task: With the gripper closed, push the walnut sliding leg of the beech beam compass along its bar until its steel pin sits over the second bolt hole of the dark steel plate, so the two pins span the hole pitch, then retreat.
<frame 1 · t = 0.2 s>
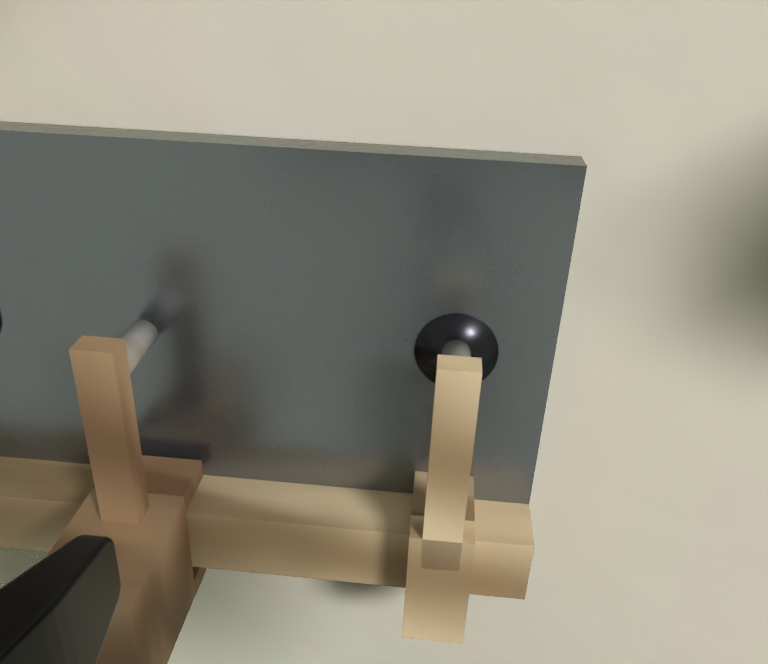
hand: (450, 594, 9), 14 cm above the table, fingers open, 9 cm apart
slider leg: (118, 500, 22), point 5 cm above the table, slide at 0.0 cm
steel plate: (217, 369, 25), on the table
compass bar: (226, 484, 27), resting on steel plate
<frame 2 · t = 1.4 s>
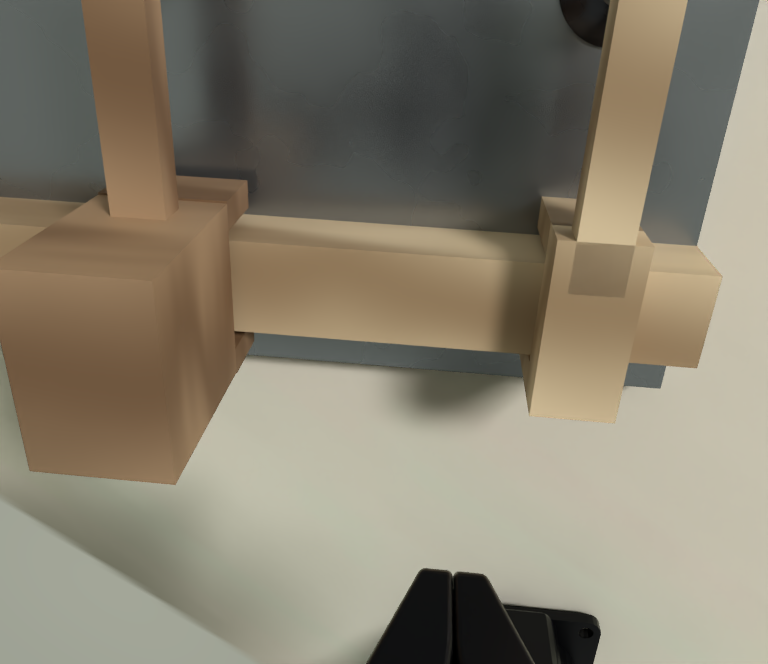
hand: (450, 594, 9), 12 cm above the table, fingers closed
slider leg: (136, 180, 15), point 5 cm above the table, slide at 0.0 cm
steel plate: (269, 56, 18), on the table
compass bar: (275, 245, 20), resting on steel plate
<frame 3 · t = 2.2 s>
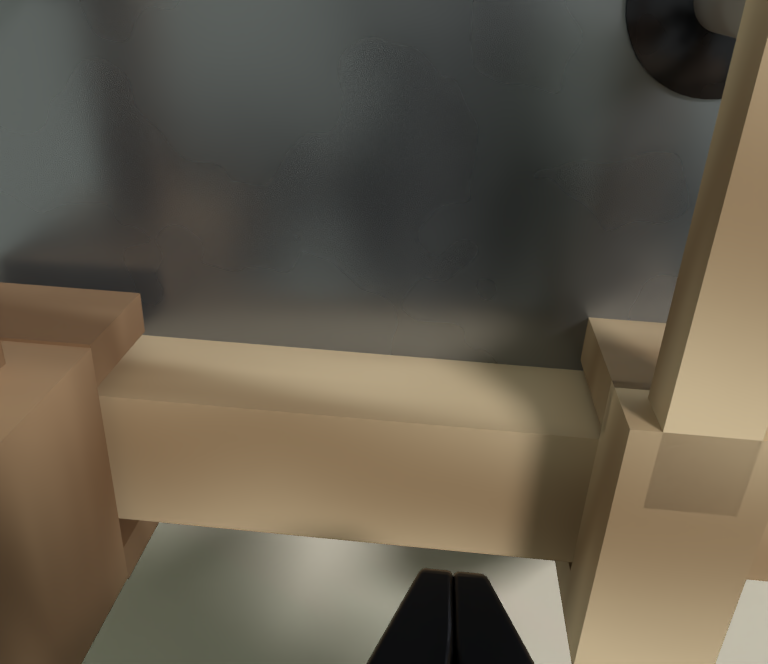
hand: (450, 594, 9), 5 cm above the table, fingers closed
steel plate: (175, 104, 12), on the table
compass bar: (198, 368, 14), resting on steel plate
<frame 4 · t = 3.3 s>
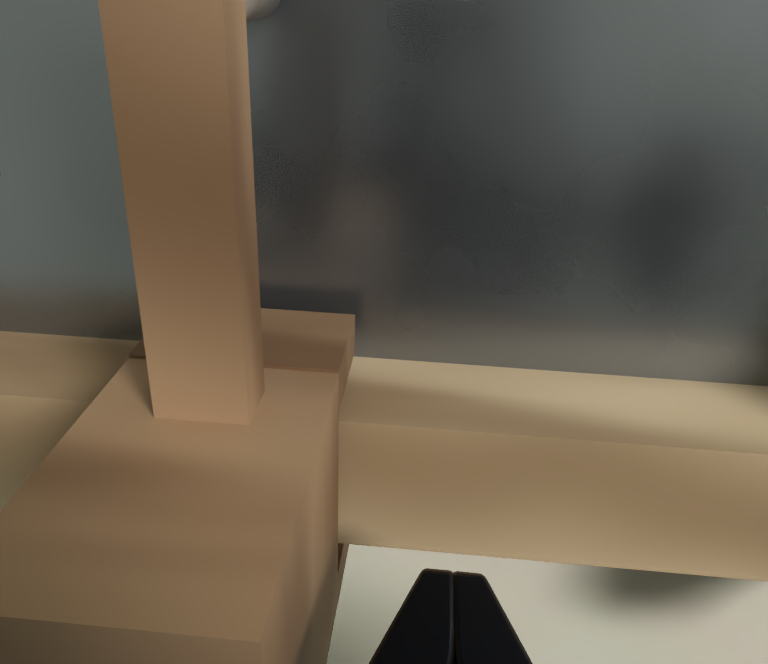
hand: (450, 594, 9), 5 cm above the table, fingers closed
slider leg: (199, 361, 9), point 5 cm above the table, slide at 0.9 cm, touching gripper
steel plate: (444, 125, 12), on the table
compass bar: (426, 390, 14), resting on steel plate
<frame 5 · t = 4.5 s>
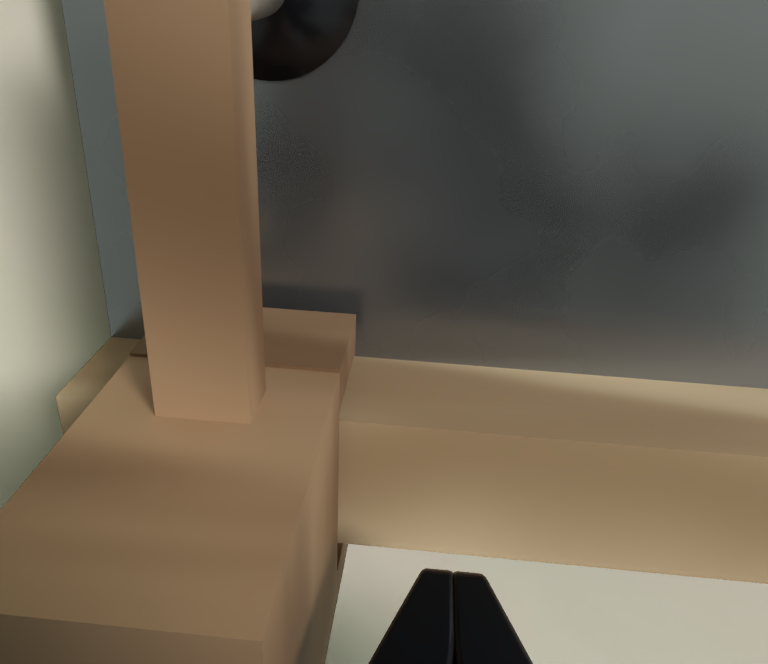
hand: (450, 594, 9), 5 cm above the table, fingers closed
slider leg: (201, 360, 9), point 5 cm above the table, slide at 6.3 cm, touching gripper
compass bar: (711, 414, 14), resting on steel plate
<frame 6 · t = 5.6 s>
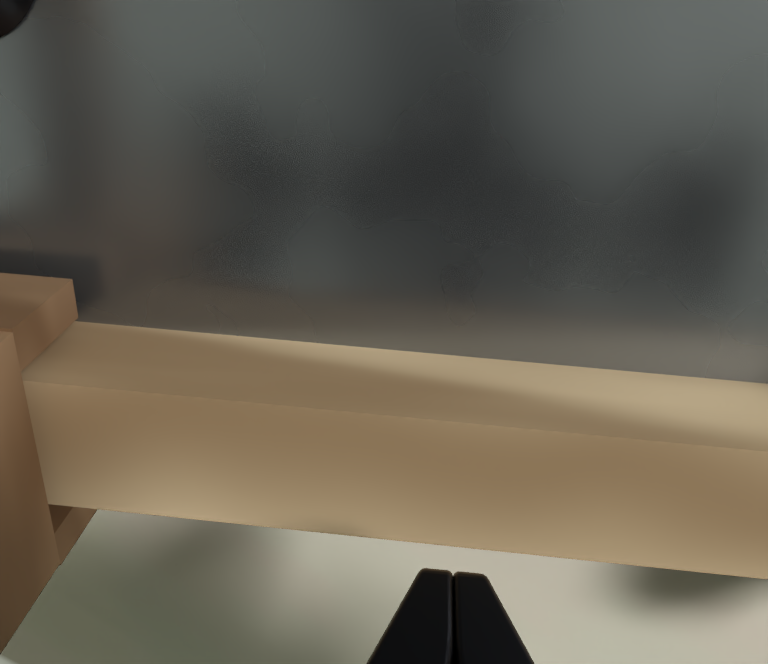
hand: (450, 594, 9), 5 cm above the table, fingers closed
steel plate: (502, 118, 11), on the table
compass bar: (468, 386, 14), resting on steel plate
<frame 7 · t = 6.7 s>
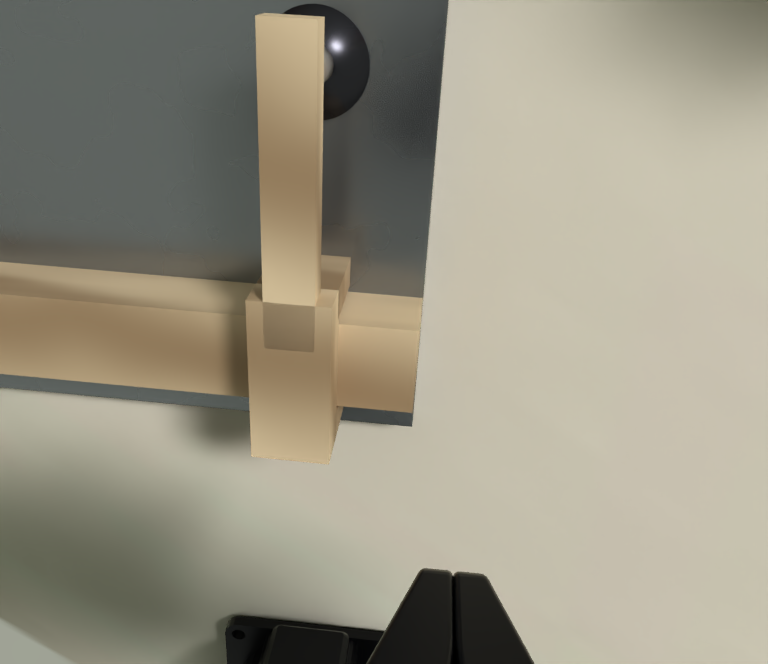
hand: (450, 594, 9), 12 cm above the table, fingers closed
steel plate: (25, 118, 19), on the table
compass bar: (54, 289, 22), resting on steel plate
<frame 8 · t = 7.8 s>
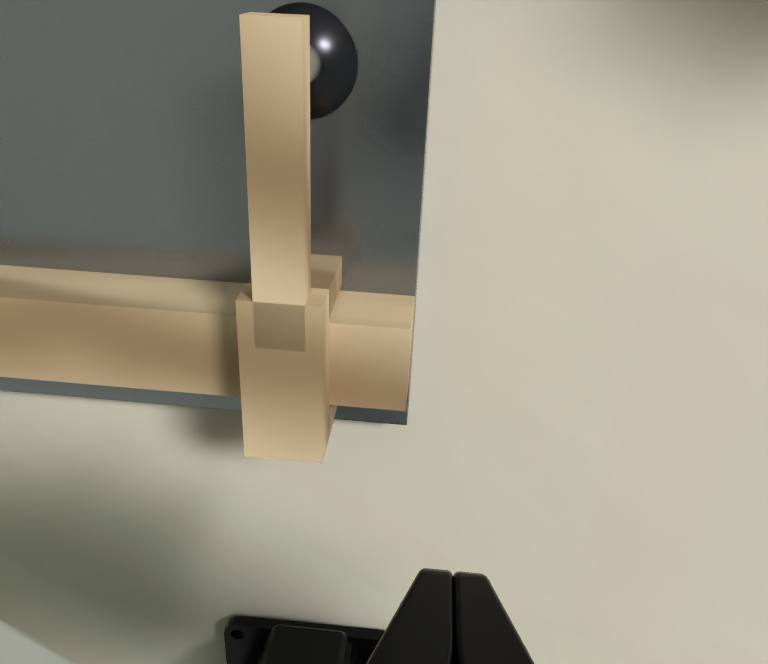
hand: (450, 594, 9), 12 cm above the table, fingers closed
steel plate: (15, 120, 19), on the table
compass bar: (47, 291, 22), resting on steel plate
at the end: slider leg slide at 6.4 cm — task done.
